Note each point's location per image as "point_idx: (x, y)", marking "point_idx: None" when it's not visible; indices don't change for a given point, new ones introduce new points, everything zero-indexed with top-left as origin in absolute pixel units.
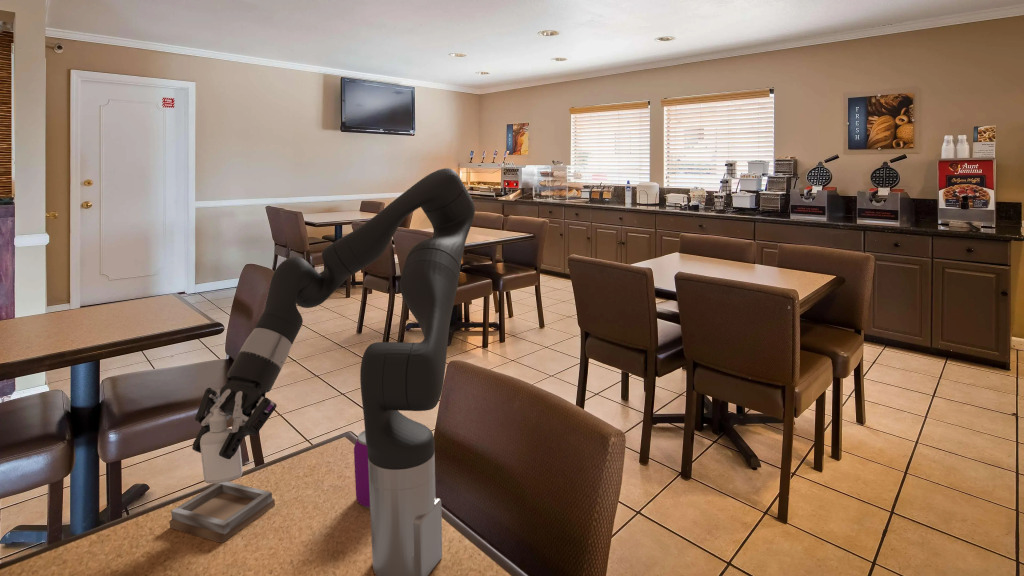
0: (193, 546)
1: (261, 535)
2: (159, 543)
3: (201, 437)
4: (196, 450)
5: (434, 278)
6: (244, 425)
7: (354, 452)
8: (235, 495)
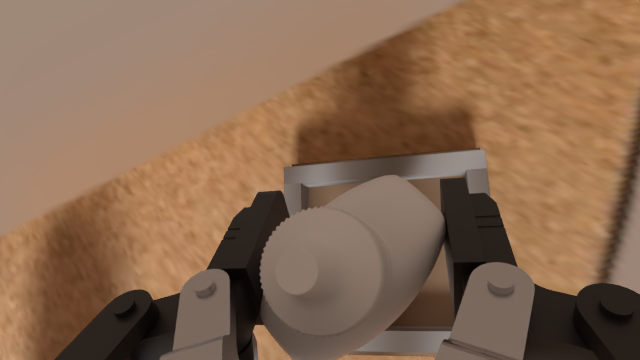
0: (350, 132)
1: None
2: (437, 102)
3: (417, 196)
4: (440, 186)
5: None
6: (134, 313)
7: None
8: (420, 325)
